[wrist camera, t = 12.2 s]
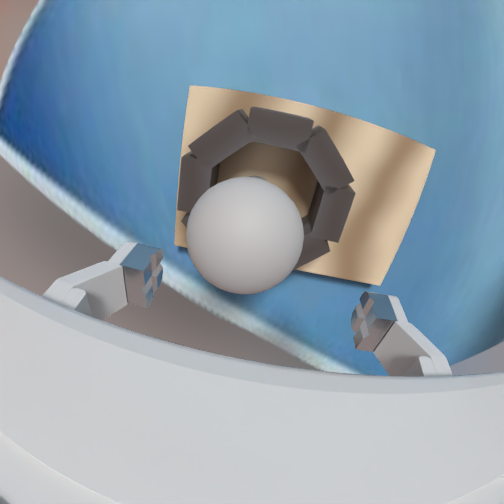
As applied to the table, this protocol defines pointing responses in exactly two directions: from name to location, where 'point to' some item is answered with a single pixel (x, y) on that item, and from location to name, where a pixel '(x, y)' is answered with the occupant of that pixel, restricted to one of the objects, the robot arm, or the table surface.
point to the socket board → (308, 174)
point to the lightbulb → (244, 235)
